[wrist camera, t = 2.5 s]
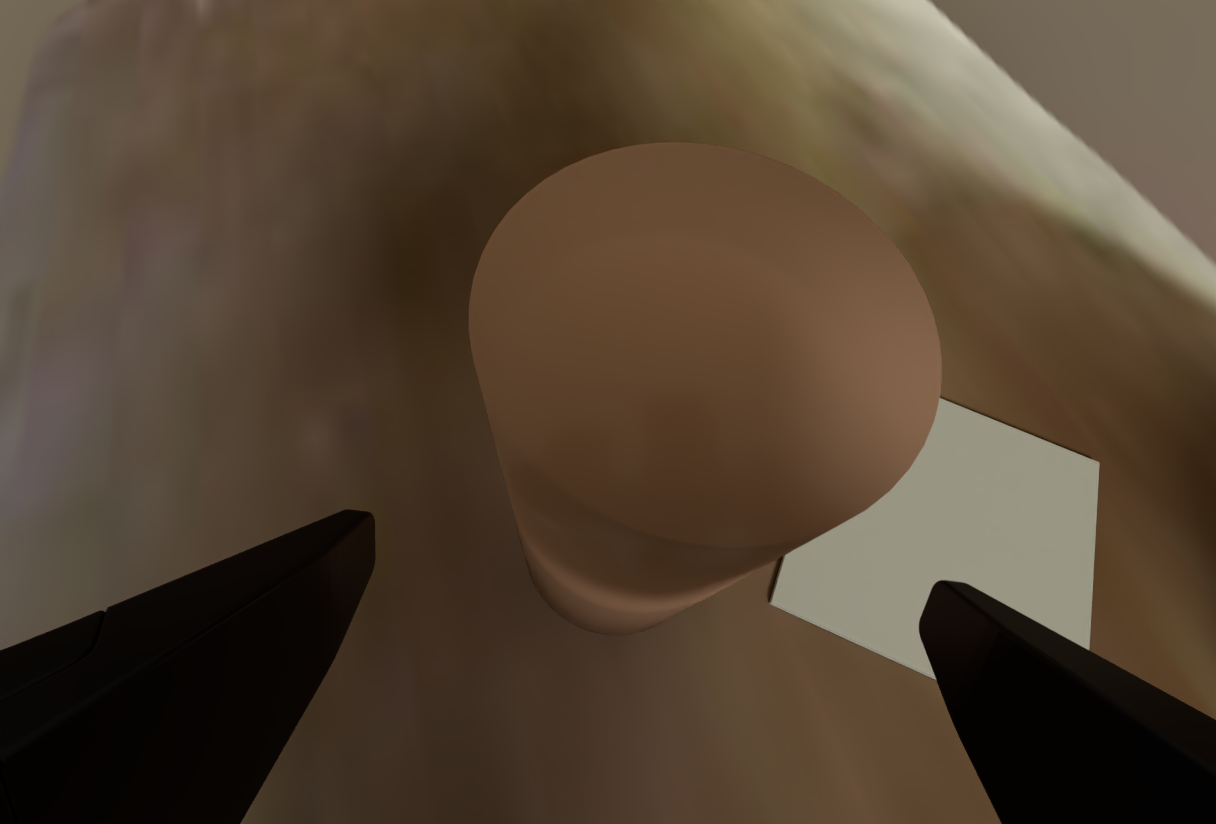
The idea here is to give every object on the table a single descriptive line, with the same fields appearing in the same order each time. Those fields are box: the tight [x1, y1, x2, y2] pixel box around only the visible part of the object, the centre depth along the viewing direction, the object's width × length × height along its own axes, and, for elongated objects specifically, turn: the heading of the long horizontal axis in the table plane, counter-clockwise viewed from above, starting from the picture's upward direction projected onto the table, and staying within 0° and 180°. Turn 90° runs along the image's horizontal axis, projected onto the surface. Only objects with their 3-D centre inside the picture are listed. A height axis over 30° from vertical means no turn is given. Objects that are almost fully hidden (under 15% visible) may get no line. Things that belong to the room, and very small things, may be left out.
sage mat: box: [769, 398, 1099, 680], centre depth 20 cm, size 10×10×1 cm
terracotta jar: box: [469, 142, 942, 635], centre depth 13 cm, size 6×6×13 cm
